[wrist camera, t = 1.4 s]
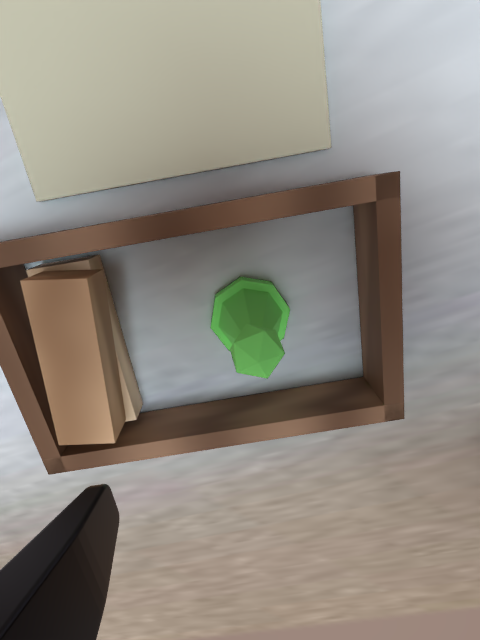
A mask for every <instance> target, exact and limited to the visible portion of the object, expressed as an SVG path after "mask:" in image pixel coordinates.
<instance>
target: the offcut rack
mask: <svg viewBox="0 0 480 640" xmlns="http://www.w3.org/2000/svg"><path fill="white" fill-rule="evenodd" d="M351 205H353V211H354V227H355V244H356V260H357V277H358V294H359V310H360V327H361V344H362V360H363V377H360V378H353V379H347V380H341V381H335V382H329V383H323V384H316V385H310V386H304V387H298V388H292V389H285V390H279V391H273V392H267V393H261V394H255V395H248V396H242V397H236V398H230V399H224V400H217V401H211V402H205V403H199V404H193V405H186V406H180V407H174V408H168V409H162V410H156V411H149V412H143V413H139V415H138V418H137V420H132V421H126V422H125V423H124V425H123V427H122V429H121V432H120V434H119V436H118V438H117V440H116V442H115V443H107V444H79V445H59V444H58V440H57V436H56V431H55V427H54V423H53V419H52V414H51V410H50V406H49V402H48V397H47V393H46V389H45V385H44V380H43V376H42V372H41V367H40V363H39V359H38V355H37V350H36V346H35V342H34V338H33V333H32V329H31V325H30V321H29V316H28V312H27V308H26V304H25V299H24V295H23V291H22V287H21V282H20V280H23V279H25V278H28V275H27V273H26V270H25V268H24V265H23V264H25V263H31V262H36V261H42V260H47V259H53V258H59V257H64V256H70V255H76V254H81V253H87V252H93V251H98V250H104V249H109V248H115V247H121V246H126V245H132V244H138V243H143V242H149V241H154V240H160V239H166V238H171V237H177V236H183V235H188V234H194V233H199V232H205V231H211V230H216V229H222V228H228V227H233V226H239V225H244V224H250V223H256V222H261V221H267V220H273V219H278V218H284V217H289V216H295V215H301V214H306V213H312V212H318V211H323V210H329V209H334V208H340V207H346V206H351ZM0 366H1V368H2V370H3V372H4V375H5V377H6V379H7V382H8V384H9V386H10V388H11V391H12V393H13V395H14V397H15V400H16V402H17V404H18V406H19V409H20V411H21V413H22V416H23V418H24V420H25V422H26V425H27V427H28V429H29V431H30V434H31V436H32V438H33V440H34V443H35V445H36V447H37V449H38V452H39V454H40V456H41V459H42V461H43V463H44V465H45V468H46V470H47V472H48V474H56V473H62V472H69V471H75V470H81V469H88V468H94V467H100V466H107V465H113V464H119V463H126V462H132V461H138V460H145V459H151V458H158V457H164V456H170V455H177V454H183V453H189V452H196V451H202V450H208V449H215V448H221V447H228V446H234V445H240V444H247V443H253V442H259V441H266V440H272V439H278V438H285V437H291V436H297V435H304V434H310V433H317V432H323V431H329V430H336V429H342V428H348V427H355V426H361V425H367V424H374V423H380V422H387V421H393V420H399V419H404V377H403V320H402V263H401V205H400V171H397V172H390V173H382V174H375V175H369V176H363V177H358V178H352V179H347V180H341V181H336V182H330V183H325V184H319V185H313V186H308V187H302V188H297V189H291V190H286V191H280V192H275V193H269V194H264V195H258V196H252V197H247V198H241V199H236V200H230V201H225V202H219V203H214V204H208V205H202V206H197V207H191V208H186V209H180V210H175V211H169V212H164V213H158V214H153V215H147V216H141V217H136V218H130V219H125V220H119V221H114V222H108V223H103V224H97V225H91V226H86V227H80V228H75V229H69V230H64V231H58V232H53V233H47V234H42V235H36V236H30V237H25V238H19V239H14V240H8V241H3V242H0Z"/></svg>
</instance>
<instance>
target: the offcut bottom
mask: <svg viewBox="0 0 480 640" xmlns="http://www.w3.org/2000/svg"><path fill="white" fill-rule="evenodd" d="M95 269H103V272H104V279H105V285H106V292H107V298H108V305H109V311H110V318H111V324H112V331H113V337H114V344H115V350H116V357H117V363H118V370H119V376H120V383H121V390H122V396H123V403H124V409H125V416H126V421H132V420H137V418H138V415H139V413H140V410H141V408H142V405H143V402H142V399H141V395H140V392H139V388H138V385H137V381H136V378H135V375H134V371H133V368H132V364H131V361H130V357H129V354H128V350H127V347H126V344H125V340H124V337H123V333H122V330H121V326H120V323H119V319H118V316H117V313H116V309H115V306H114V302H113V299H112V295H111V292H110V288H109V285H108V282H107V278H106V275H105V271H104V268H103V264H102V261H101V257H100V254H99V255H93V256H87V257H81V258H75V259H69V260H63V261H57V262H51V263H45V264H41V265H38V266H36V267H33V268H30V269H28V270H26V271H27V274H28V277H30V276H33V275H35V274H37V273H40V272H42V271H61V270H95ZM126 421H125V422H126Z"/></svg>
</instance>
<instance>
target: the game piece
mask: <svg viewBox="0 0 480 640" xmlns="http://www.w3.org/2000/svg"><path fill="white" fill-rule="evenodd" d="M289 312H290V309H289V307H288V305H287V304H286V302H285V301H284V299H283V298H282V297H281V295H280V294H279V292H278V291H277V289H276V288H275V287H274V285H273V284H272V282H271V281H264V280H258V279H252V278H245V277H239V278H238V279H237V280H235V281H234V282H232V283H231V284H230V285H228V286H227V287H225V288H224V289H222V290H221V291H220V292H218V293H217V294H216V295H215V301H214V308H213V315H212V321H211V329H212V330H213V331H214V333H215V334H216V335H217V336H218V338H219V339H220V340H221V341H222V343H223V344H224V345H225V346H226V348H227V349H228V350H229V351H231V354H232V358H233V361H234V365H235V368H236V372H237V373H242V374H247V375H252V376H257V377H262V378H267V379H268V377H269V376H270V374H271V373H272V371H273V370H274V369H275V367H276V366H277V364H278V363H279V361H280V360H281V359H282V357H283V356H284V354H285V352H284V350H283V347H282V345H281V342H280V341H281V340H282V339H284V335H285V330H286V326H287V321H288V317H289Z"/></svg>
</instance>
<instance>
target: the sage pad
mask: <svg viewBox="0 0 480 640" xmlns="http://www.w3.org/2000/svg"><path fill="white" fill-rule="evenodd" d="M0 96H1V99H2V102H3V105H4V108H5V111H6V114H7V117H8V120H9V123H10V125H11V128H12V131H13V134H14V137H15V140H16V143H17V146H18V149H19V152H20V154H21V157H22V160H23V163H24V166H25V169H26V172H27V175H28V178H29V181H30V184H31V186H32V189H33V192H34V195H35V198H36V201H46V200H52V199H57V198H63V197H68V196H74V195H79V194H85V193H90V192H95V191H101V190H106V189H112V188H117V187H123V186H128V185H134V184H139V183H145V182H150V181H155V180H161V179H166V178H172V177H177V176H183V175H188V174H194V173H199V172H205V171H210V170H215V169H221V168H226V167H232V166H237V165H243V164H248V163H254V162H259V161H265V160H270V159H275V158H281V157H286V156H292V155H297V154H303V153H308V152H314V151H319V150H325V149H329V148H331V137H330V123H329V110H328V97H327V84H326V71H325V58H324V44H323V31H322V18H321V5H320V0H0Z"/></svg>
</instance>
